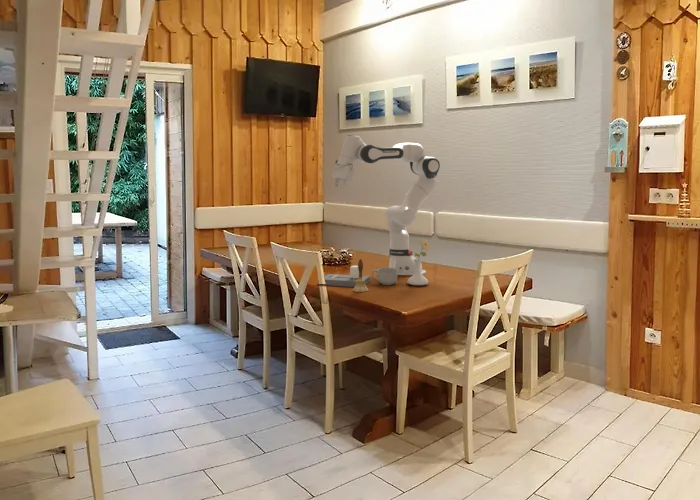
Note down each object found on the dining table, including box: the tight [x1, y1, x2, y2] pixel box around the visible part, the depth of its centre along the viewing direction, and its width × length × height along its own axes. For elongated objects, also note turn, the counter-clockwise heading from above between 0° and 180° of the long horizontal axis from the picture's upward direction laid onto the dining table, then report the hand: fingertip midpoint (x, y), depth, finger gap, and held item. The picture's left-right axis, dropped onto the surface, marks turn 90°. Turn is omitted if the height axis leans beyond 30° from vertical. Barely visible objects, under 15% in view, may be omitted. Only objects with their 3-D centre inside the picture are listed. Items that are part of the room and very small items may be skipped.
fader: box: [349, 265, 359, 278], centre depth 328 cm, size 4×5×6 cm
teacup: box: [371, 267, 398, 286], centre depth 328 cm, size 14×11×8 cm
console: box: [323, 273, 371, 288], centre depth 330 cm, size 24×16×3 cm, turn 71°
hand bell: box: [352, 258, 370, 293], centre depth 311 cm, size 8×8×16 cm
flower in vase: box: [406, 237, 432, 287], centre depth 323 cm, size 13×11×25 cm
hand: (338, 187), depth 340 cm, fingers open, 8 cm apart
